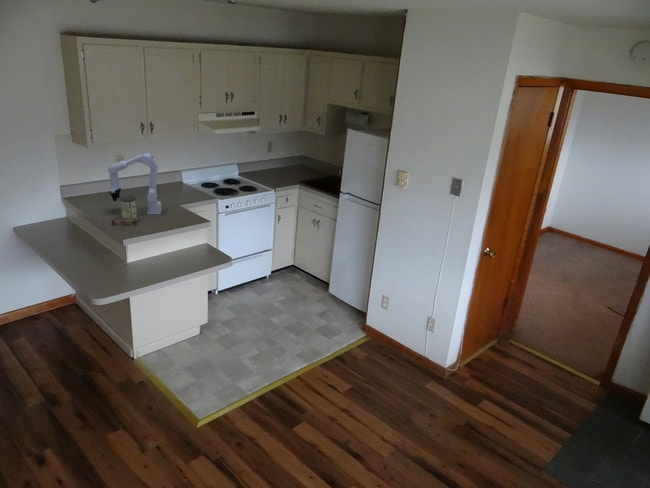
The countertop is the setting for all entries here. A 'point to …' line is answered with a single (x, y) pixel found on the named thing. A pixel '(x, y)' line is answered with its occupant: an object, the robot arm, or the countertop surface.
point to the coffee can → (128, 207)
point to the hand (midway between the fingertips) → (116, 199)
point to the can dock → (125, 221)
